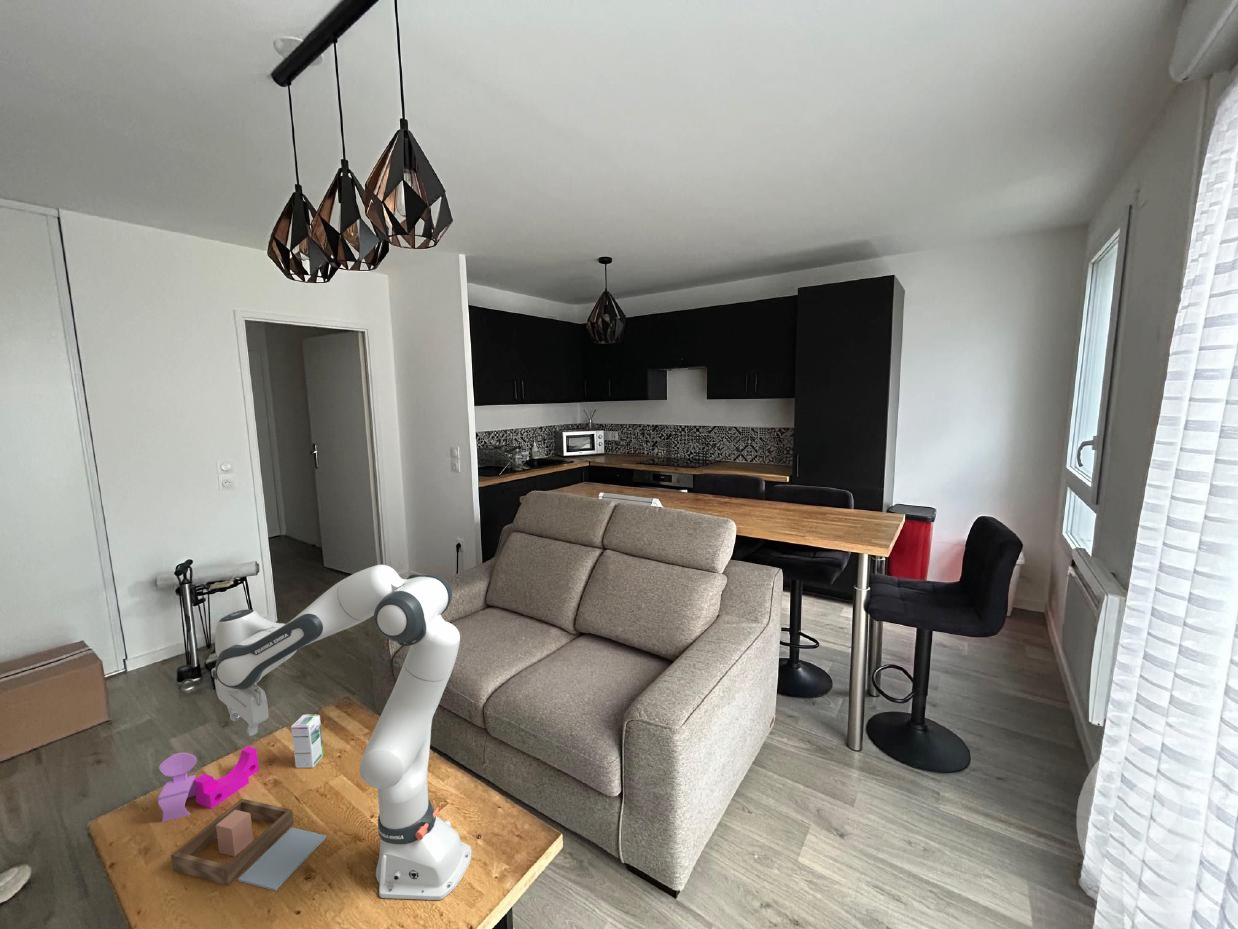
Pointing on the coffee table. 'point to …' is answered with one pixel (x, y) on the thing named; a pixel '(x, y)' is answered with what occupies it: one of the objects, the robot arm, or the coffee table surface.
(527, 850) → the coffee table surface
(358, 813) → the coffee table surface
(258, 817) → the wooden frame
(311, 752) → the syrup box
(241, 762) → the magenta arched bracket
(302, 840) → the mat
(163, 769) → the toy chair
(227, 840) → the block
